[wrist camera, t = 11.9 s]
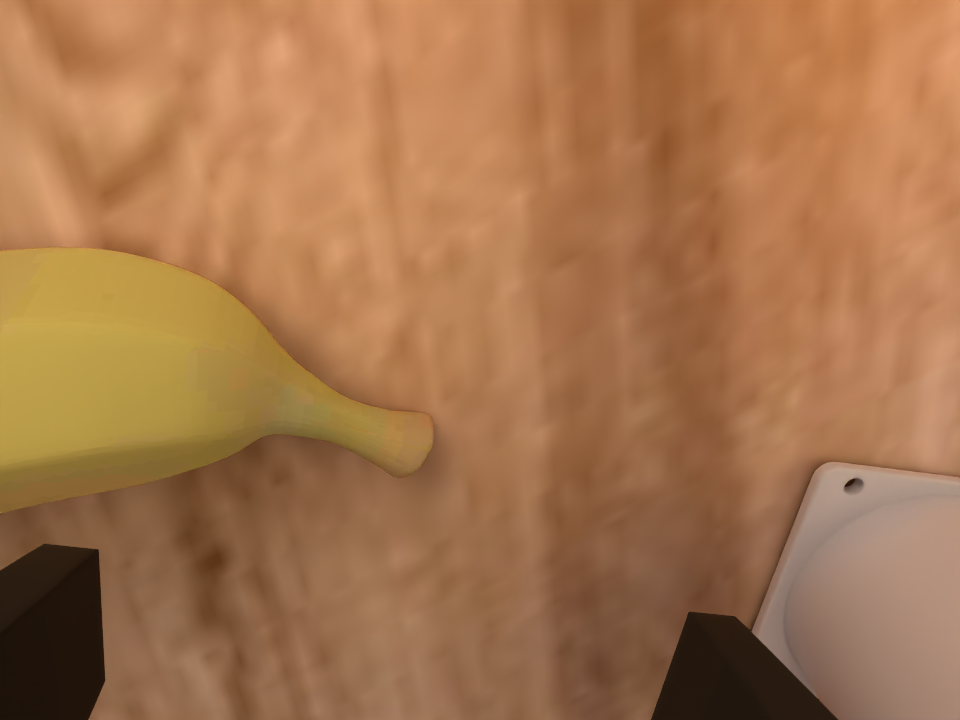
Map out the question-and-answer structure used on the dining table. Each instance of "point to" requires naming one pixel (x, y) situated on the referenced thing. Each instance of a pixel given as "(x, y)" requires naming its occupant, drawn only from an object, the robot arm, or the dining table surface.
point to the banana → (153, 380)
